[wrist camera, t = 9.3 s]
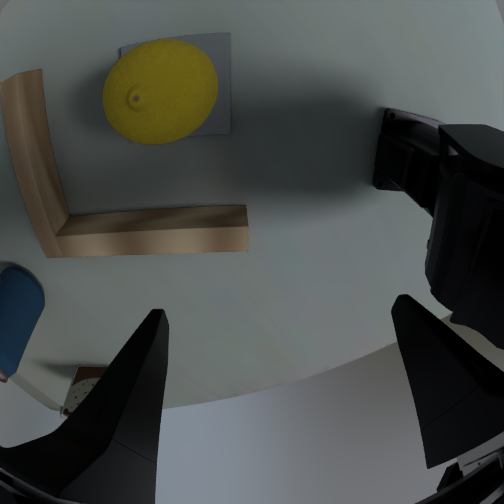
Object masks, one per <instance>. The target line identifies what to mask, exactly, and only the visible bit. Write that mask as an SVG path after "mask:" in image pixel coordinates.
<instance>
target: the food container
mask: <svg viewBox="0 0 504 504" xmlns="http://www.w3.org/2000/svg"><path fill="white" fill-rule="evenodd" d="M108 366H109V365H78V366H77V369H76V371H75V374H74V377H73V379H72V382H71V385H70V388H69V391H68V393H67V396H66V399H65V402H64V406H63V407H62V406H60V414H61V415H60V418H62V419H63V420H66V419H67V418H68V416H69V415H70V414H71V413H72V412H73V411H74V410H75V409H76V407H77V406H78V405H79V404H80V403H81V402H82V400H83V399H84V398H85V397H86V396H87V395H88V393H89V392H90V391H91V389H92V388H93V387H94V385H95V384H96V383H97V381H98V380H99V379H100V378H101V376H102V374H103V373H104V372H105V370H106V369H107V368H108Z"/></svg>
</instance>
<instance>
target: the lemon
mask: <svg viewBox="0 0 504 504" xmlns="http://www.w3.org/2000/svg"><path fill="white" fill-rule="evenodd" d="M217 93H218V78H217V74H216V71H215V68H214V65H213V63H212V62H211V61H210V59H209V58H208V57H207V55H206V54H205V53H204V52H203V51H201V50H200V49H198V48H197V47H196V46H194V45H192V44H189V43H187V42H184V41H181V40H174V39H160V40H154V41H149V42H146V43H144V44H141V45H139V46H137V47H134V48H133V49H131V50H130V51H129V52H127V53H126V54H125V55H123V56H122V57H121V58H120V59H119V60H118V61H117V62H116V64H115V65H114V66H113V67H112V69H111V70H110V73H109V75H108V77H107V79H106V81H105V84H104V89H103V94H102V96H103V108H104V111H105V115H106V118H107V119H108V121H109V122H110V124H111V126H112V127H113V128H114V129H115V130H116V131H117V132H118V133H119V134H120V135H121V136H123V137H125V138H127V139H129V140H131V141H132V142H136V143H140V144H144V145H161V144H166V143H170V142H174V141H177V140H179V139H181V138H183V137H185V136H188V135H189V134H191V133H192V132H193V131H194V130H196V129H197V128H198V127H200V126H201V125H202V123H203V122H204V121H205V120H206V118H207V117H208V116H209V115H210V113H211V111H212V109H213V107H214V105H215V102H216V98H217Z"/></svg>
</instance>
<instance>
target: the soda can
mask: <svg viewBox="0 0 504 504" xmlns="http://www.w3.org/2000/svg"><path fill="white" fill-rule="evenodd" d="M44 306H45V298H44V290H43V287H42V285H41V283H40V281H39V280H38V279H37V278H36V276H35V275H34V274H32V273H31V272H30V271H29V270H27V269H26V268H24V267H21V266H13V267H9V268H6V269H4V270H3V271H2V273H1V274H0V381H1V382H4V383H6V382H7V381H8V378H9V377H10V376H12V375H13V374H14V373H15V372H16V371H17V368H18V366H19V363H20V360H21V358H22V355H23V353H24V350H25V348H26V346H27V343H28V341H29V339H30V336H31V334H32V332H33V330H34V328H35V325H36V323H37V321H38V319H39V317H40V315H41V313H42V311H43V309H44Z"/></svg>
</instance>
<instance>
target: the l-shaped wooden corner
mask: <svg viewBox="0 0 504 504" xmlns="http://www.w3.org/2000/svg"><path fill="white" fill-rule="evenodd" d="M0 89H1V100H2V109H3V116H4V123H5V129H6V134H7V139H8V144H9V149H10V153H11V158H12V162H13V166H14V170H15V173H16V177H17V181H18V184H19V187H20V191H21V194H22V197H23V200H24V203H25V206H26V209H27V212H28V214H29V217H30V220H31V222H32V225H33V228H34V230H35V233H36V235H37V237H38V240H39V242H40V245H41V247H42V249H43V251H44V254H45V256H46V258H60V257H88V256H117V255H147V254H176V253H206V252H236V251H248V218H247V209H246V205H234V206H207V207H186V208H169V209H153V210H139V211H127V212H115V213H104V214H94V215H84V216H75V217H70V214H69V211H68V207H67V204H66V201H65V198H64V194H63V191H62V187H61V183H60V180H59V176H58V172H57V168H56V163H55V159H54V155H53V150H52V145H51V140H50V135H49V129H48V123H47V116H46V109H45V101H44V92H43V80H42V69H38V70H32V71H27V72H22V73H17V74H15V75H14V76H12V77H10V78H8V79H7V80H5V81H3V82H2V83H0Z"/></svg>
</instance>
